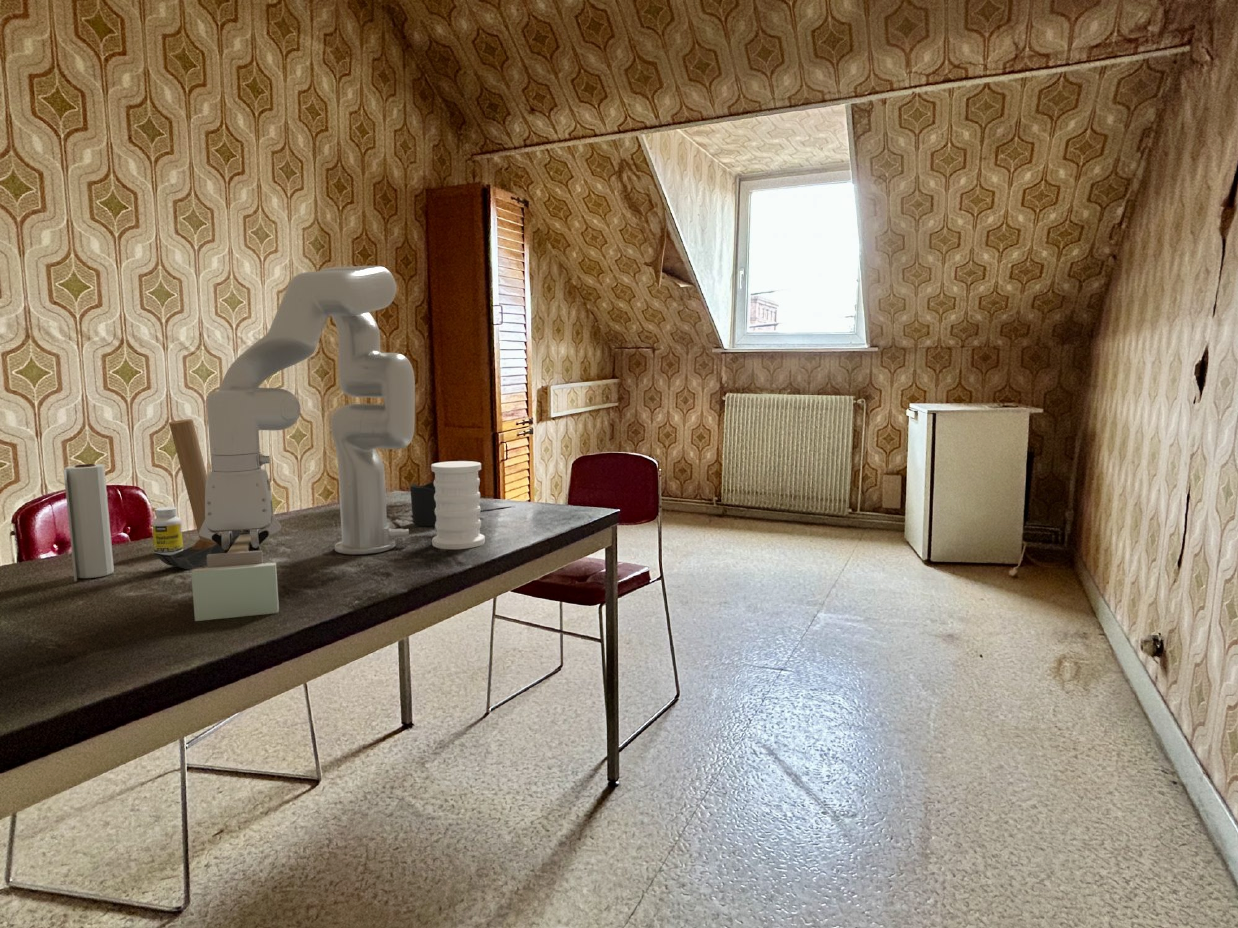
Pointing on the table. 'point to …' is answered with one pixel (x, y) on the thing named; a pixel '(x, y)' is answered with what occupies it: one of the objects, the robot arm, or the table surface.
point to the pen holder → (423, 505)
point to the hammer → (193, 496)
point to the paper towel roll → (88, 520)
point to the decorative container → (457, 505)
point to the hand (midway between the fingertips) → (243, 568)
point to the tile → (235, 591)
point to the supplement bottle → (167, 531)
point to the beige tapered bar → (236, 554)
